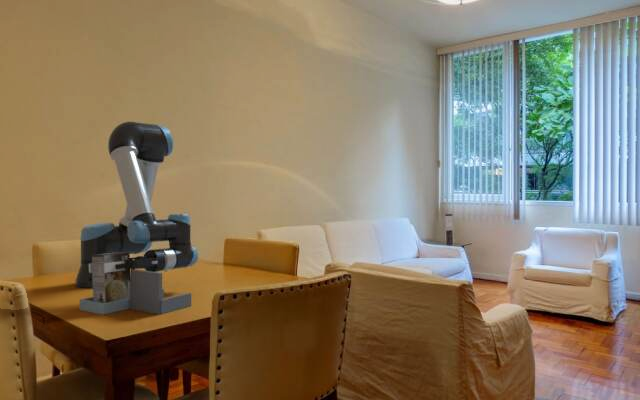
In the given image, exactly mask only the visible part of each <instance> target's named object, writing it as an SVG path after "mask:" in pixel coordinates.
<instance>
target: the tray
mask: <svg viewBox="0 0 640 400" xmlns="http://www.w3.org/2000/svg"><path fill="white" fill-rule="evenodd" d="M129 309H130V298H126V299H121V300H117V301H112V302H108V303H100V302H95V301H93V296H90V297H85V298H81V299H79V310H80V311H84V312H88V313H92V314H98V315H101V316H102V315H108V314H113V313H115V312H116V311H117V312H121V311H124V310H129Z"/></svg>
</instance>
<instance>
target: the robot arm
mask: <svg viewBox="0 0 640 400" xmlns="http://www.w3.org/2000/svg"><path fill="white" fill-rule="evenodd" d="M172 135H173V134H172V133H171V131H170V130H169V128H167V127H166V126H163V125H159V124H152V123H144V122H136V121H124V122H122V123H120V124H118V125H117V126H116V127H114V129H113V130H112V131H111V133H110V135H109V138H108V143H107V145H108V146H107V148H108V152H109V156H110V159H111V160H112V161H114V164H115V167H116V170H117V174H118V177H119V180H120V181H119V182H120V184H121V188H122V190H123V194H124V197H125V201H126V207H125V213H124V216H123V217H122V218H120V219H119V222H118V225H115V223H113V222H100V223H95V224H89V225H86V226H84V227H82V229H81V234H80V238H79V239H80V267H79V269H78V272H77V274H76V278H75V283H74V284H75V285H74V286H75V287H77V288H85V289H86V288H87V289H89V288H91V289H93V279H92V256H91V255H97V254H105V253H114V252H129V255H137V254H142V253H144V254H143V256H142V255H141V256H140V255H139V256H136V257H130V261H129V259H125V263H124V261H121V262H112V263H104V273H107V272H114V271H121V270H125V268H126V270H129V269H130V270H134V269H135V270H141V269H144V270H145V269H146V270H147V271H151V272H158V273H159V272H161V271H164V272H165V273H167V272H168V271H169V270H177V269H182V268H188V267H192V266H194V265H196V263H197V262H198V259H199V252H198V251H197V250H198V249H197V247H195V246H193V245H192V242H191V226H192V224H191V217H190V215H189V214H188V213H173V214H172V213H171V214H169V215H168V217H167V219H156V215H155V212H154V209H153V206H152V198H153V194H154V190H155V189H154V188H155V184H156V179H157V174H158V170H159V166H160V165H161V164H163V163H164V161H165V157H168V156H170V155H171V154H172V152H173V149H174V139H173V136H172ZM156 242H168V245H169V247H165V248H158V249H150V248H151V247H152V244H153V243H156Z"/></svg>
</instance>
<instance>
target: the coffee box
mask: <svg viewBox="0 0 640 400" xmlns="http://www.w3.org/2000/svg"><path fill="white" fill-rule="evenodd" d="M91 256H92V279H93V288H92V297H93V301H95V302H100V303H108V302H112V301H117V300H121V299H126V298H130V278H131V269H129V270H126V268H125V270H121V271H114V272H107V273H104V263H112V262H121V261H124V263H125V259H129V261H130V258H131V256H130V254H129V252H114V253H105V254H97V255H91Z"/></svg>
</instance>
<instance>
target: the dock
mask: <svg viewBox="0 0 640 400" xmlns="http://www.w3.org/2000/svg"><path fill="white" fill-rule="evenodd" d="M130 277H131V278H130V308H129V309H130V310H134V311H139V312H145V313H150V314H154V315H163V314H168V313H170V312H175V311H179V310H182V309H185V308H190V307H192V292H187V293H186V292H185V293H183V294H177V295H175V296H170V297H166V298H165V288H163V273H162V272H159V271H158V272H151V271H145V270H141V269H134V270H132V269H130Z"/></svg>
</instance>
